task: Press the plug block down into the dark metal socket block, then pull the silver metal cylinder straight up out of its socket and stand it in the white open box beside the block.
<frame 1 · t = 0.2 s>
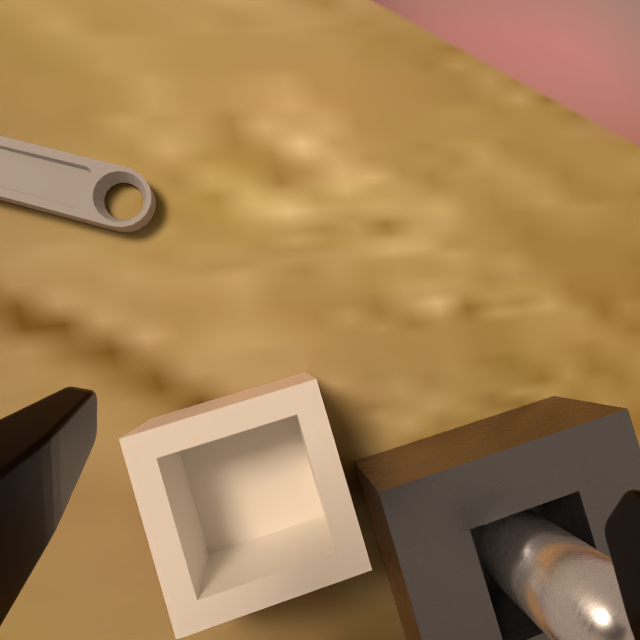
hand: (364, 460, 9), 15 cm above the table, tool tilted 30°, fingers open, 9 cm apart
silver metal cylinder: (494, 529, 23), point 1 cm above the table, touching socket block
socket block: (506, 595, 24), on the table
white open box: (251, 471, 23), on the table
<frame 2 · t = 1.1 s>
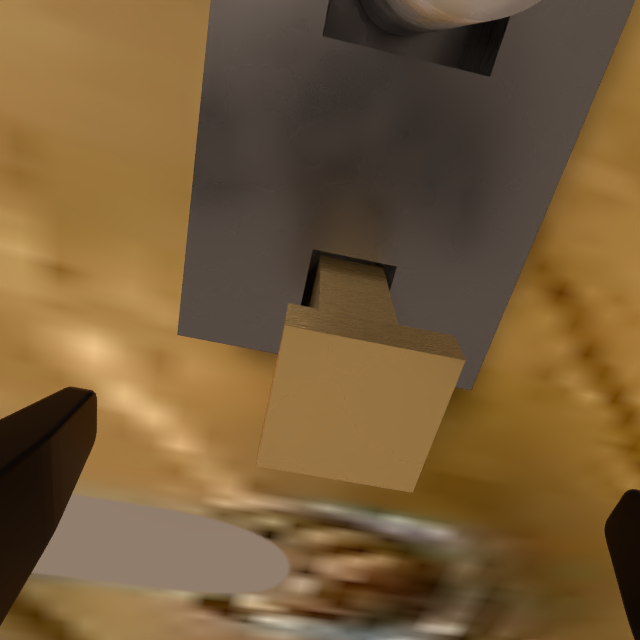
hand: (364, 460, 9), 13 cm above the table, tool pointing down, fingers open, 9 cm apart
plug block: (348, 339, 14), point 8 cm above the table, slide at 3.0 cm
socket block: (377, 96, 18), on the table
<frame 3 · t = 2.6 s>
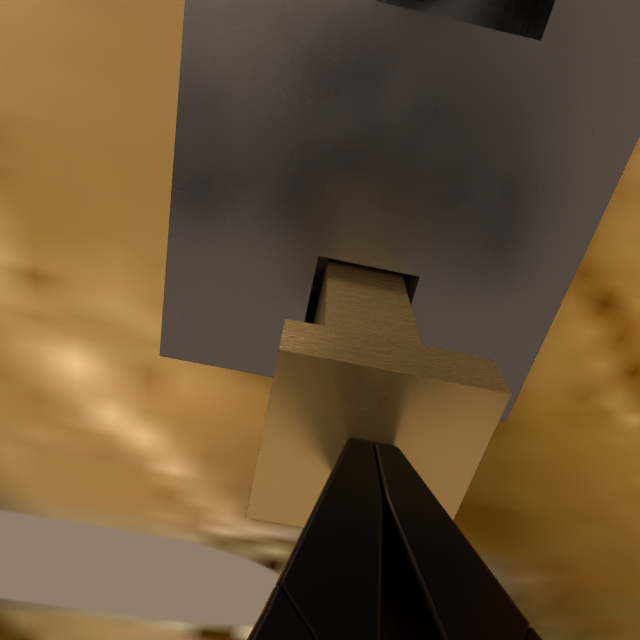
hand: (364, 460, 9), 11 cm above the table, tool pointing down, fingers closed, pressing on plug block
plug block: (360, 358, 12), point 7 cm above the table, slide at 2.5 cm, touching gripper
socket block: (395, 75, 15), on the table
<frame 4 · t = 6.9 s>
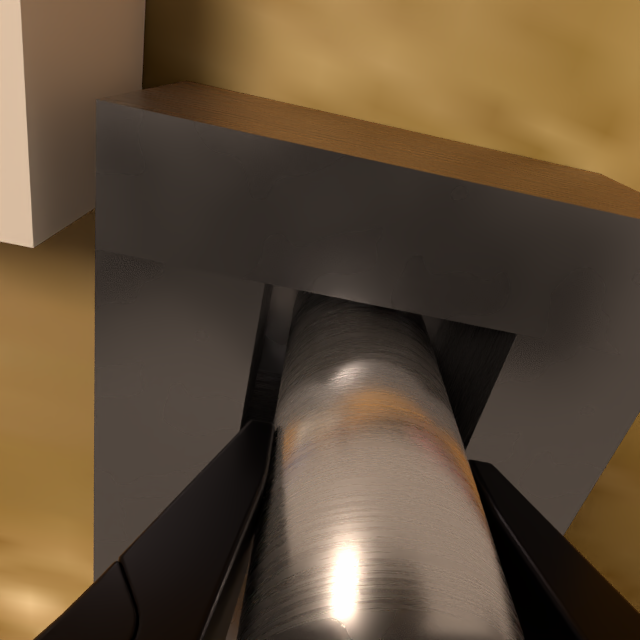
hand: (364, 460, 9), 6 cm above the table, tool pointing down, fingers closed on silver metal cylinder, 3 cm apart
silver metal cylinder: (355, 314, 13), point 1 cm above the table, touching gripper, socket block
socket block: (327, 400, 16), on the table
when the fingers open (8 cm above the table, at t = 10.1 s): silver metal cylinder drops 1 cm, resting on white open box.
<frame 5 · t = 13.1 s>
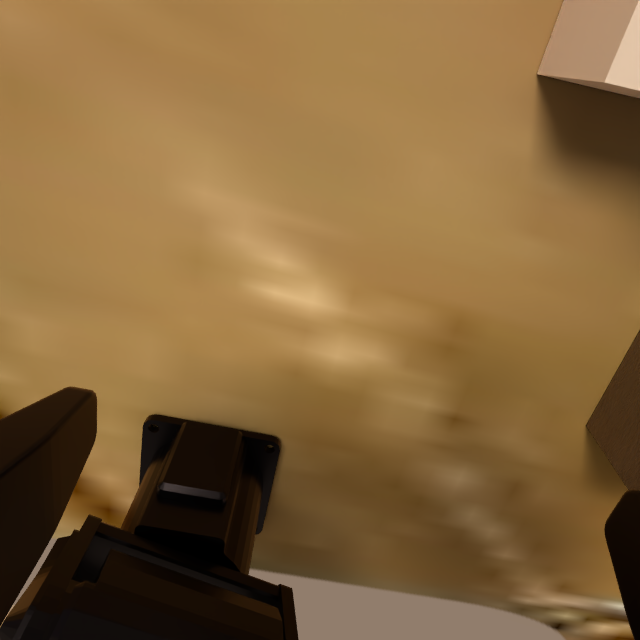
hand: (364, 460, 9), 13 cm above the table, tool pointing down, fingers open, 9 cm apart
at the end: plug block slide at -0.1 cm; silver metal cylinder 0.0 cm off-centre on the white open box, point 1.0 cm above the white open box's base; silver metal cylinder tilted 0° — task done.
